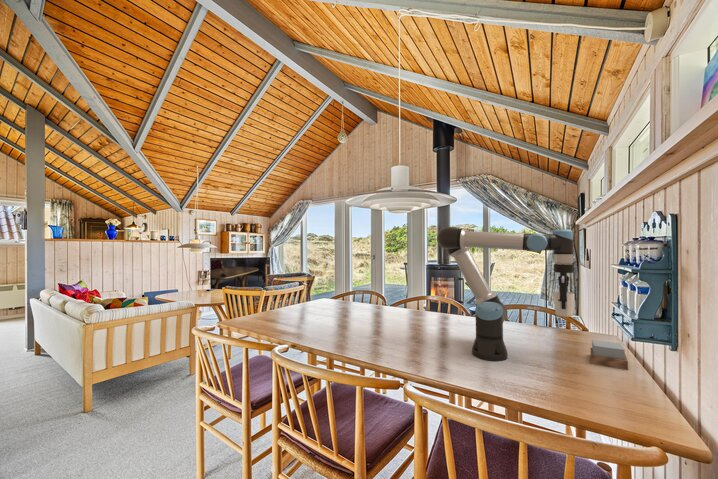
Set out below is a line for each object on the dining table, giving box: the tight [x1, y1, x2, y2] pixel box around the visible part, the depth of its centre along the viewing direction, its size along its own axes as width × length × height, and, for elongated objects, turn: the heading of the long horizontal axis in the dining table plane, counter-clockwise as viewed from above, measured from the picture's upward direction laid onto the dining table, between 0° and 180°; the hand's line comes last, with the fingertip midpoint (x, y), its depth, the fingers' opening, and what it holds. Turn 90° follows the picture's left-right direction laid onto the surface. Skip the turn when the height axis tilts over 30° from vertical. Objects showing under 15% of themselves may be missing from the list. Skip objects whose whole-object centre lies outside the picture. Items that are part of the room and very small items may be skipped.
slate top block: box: [591, 339, 626, 360], centre depth 135 cm, size 10×10×4 cm
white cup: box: [553, 290, 576, 318], centre depth 141 cm, size 8×8×10 cm
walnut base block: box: [590, 347, 629, 371], centre depth 135 cm, size 12×12×4 cm
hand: (564, 314), depth 141 cm, fingers closed on white cup, 8 cm apart
